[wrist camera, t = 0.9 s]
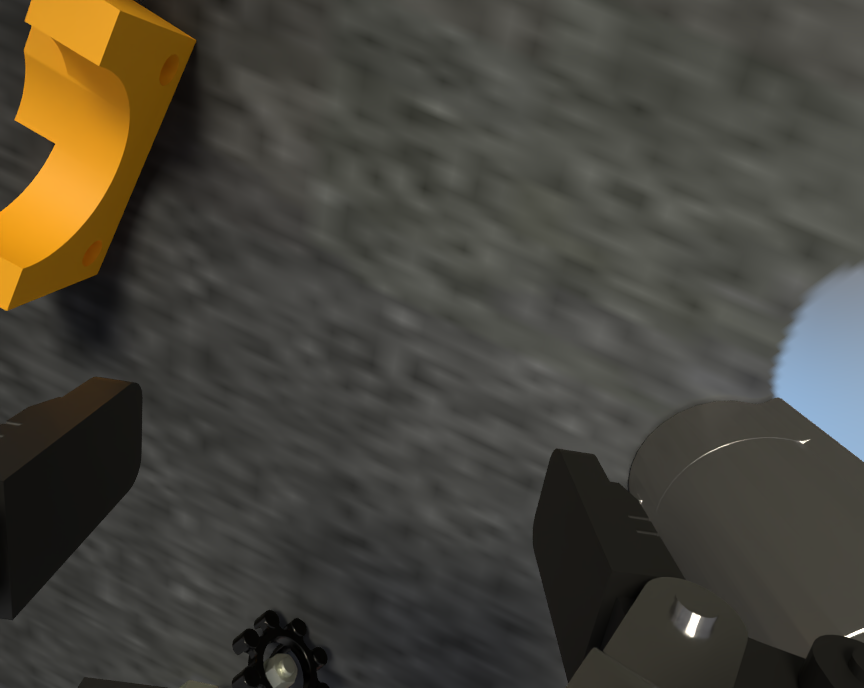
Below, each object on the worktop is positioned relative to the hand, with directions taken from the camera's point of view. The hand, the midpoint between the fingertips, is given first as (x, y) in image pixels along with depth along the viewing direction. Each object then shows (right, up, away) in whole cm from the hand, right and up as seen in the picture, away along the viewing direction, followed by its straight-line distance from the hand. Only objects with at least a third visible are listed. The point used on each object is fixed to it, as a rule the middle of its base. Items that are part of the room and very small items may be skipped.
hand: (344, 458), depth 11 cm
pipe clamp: (-13, +12, +15) cm, 23 cm away
